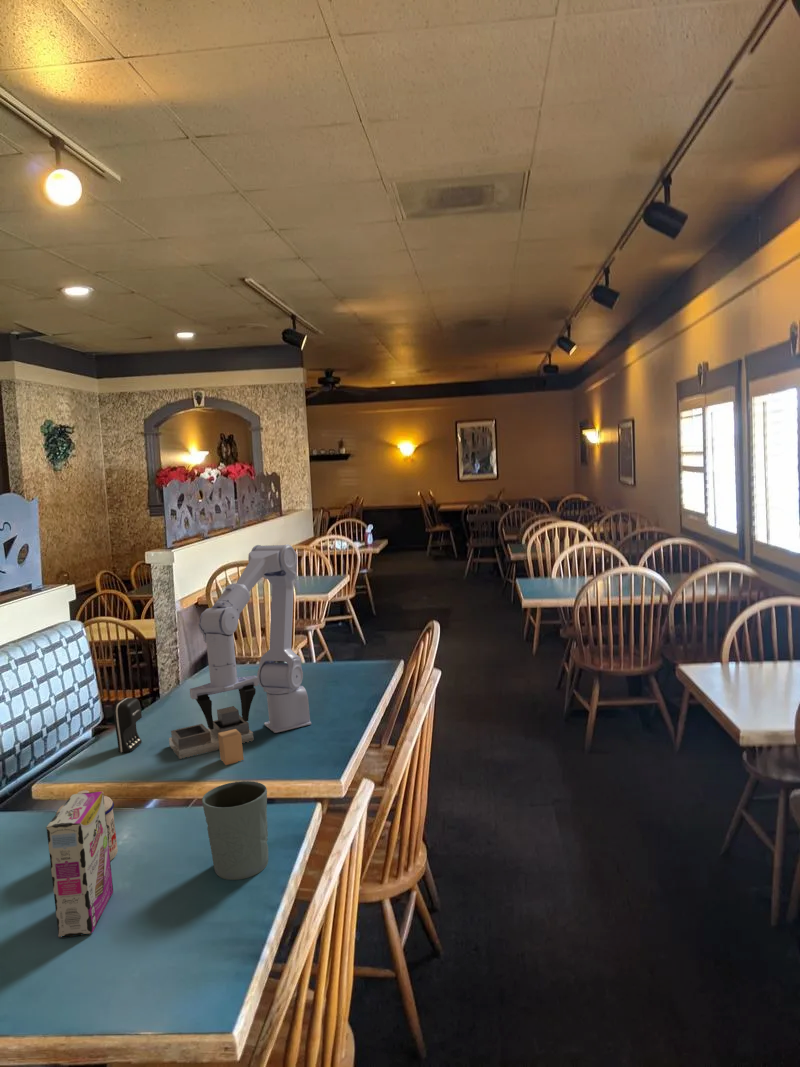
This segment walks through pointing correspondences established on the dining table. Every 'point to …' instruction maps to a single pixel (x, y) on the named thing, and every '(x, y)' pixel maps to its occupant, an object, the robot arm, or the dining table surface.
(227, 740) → the plug
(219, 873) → the grey cup
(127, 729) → the battery
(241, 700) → the robot arm
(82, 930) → the candy bar box
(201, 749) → the power strip
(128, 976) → the dining table surface
